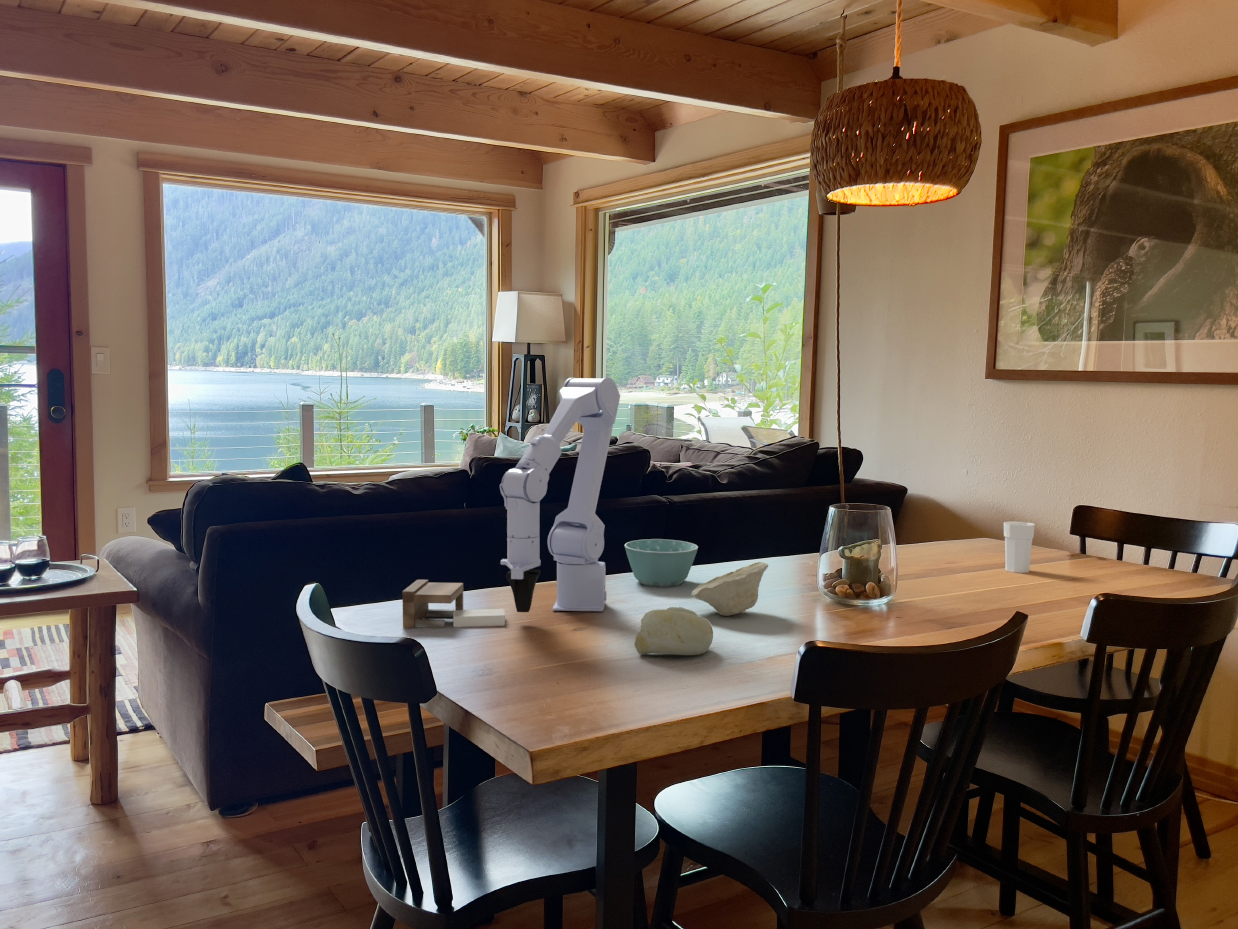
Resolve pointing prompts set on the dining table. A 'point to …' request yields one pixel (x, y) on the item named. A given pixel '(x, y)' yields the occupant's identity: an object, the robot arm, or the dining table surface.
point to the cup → (1018, 545)
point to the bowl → (660, 561)
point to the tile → (479, 617)
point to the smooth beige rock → (674, 632)
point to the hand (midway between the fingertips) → (523, 611)
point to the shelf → (426, 593)
